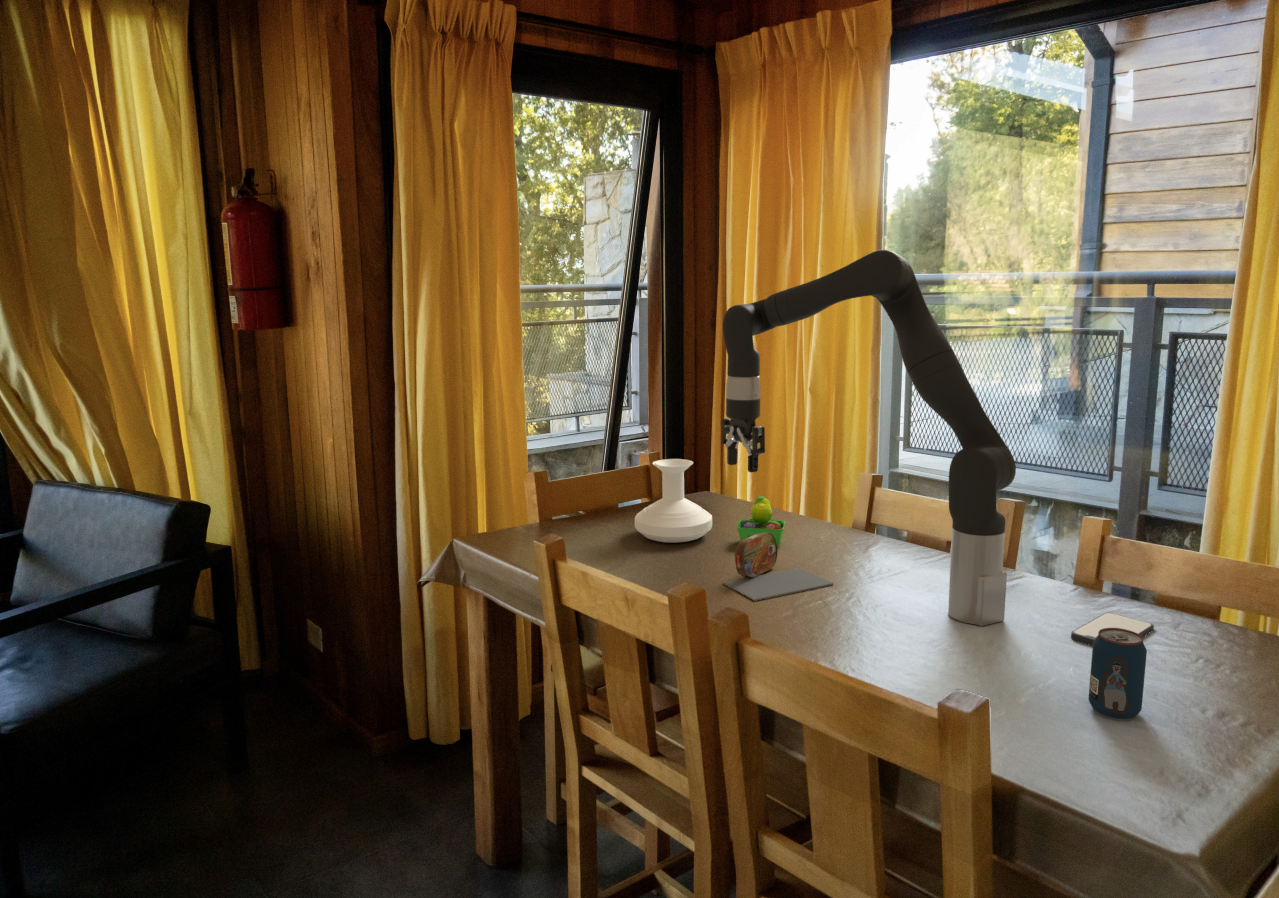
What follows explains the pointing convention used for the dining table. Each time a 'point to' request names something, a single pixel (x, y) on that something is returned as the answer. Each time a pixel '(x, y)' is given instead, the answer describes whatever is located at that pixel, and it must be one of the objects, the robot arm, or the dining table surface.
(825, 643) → the dining table surface
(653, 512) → the white vase
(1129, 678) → the soda can
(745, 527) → the fruit basket
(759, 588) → the mat
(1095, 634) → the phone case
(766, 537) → the tin
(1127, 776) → the dining table surface
